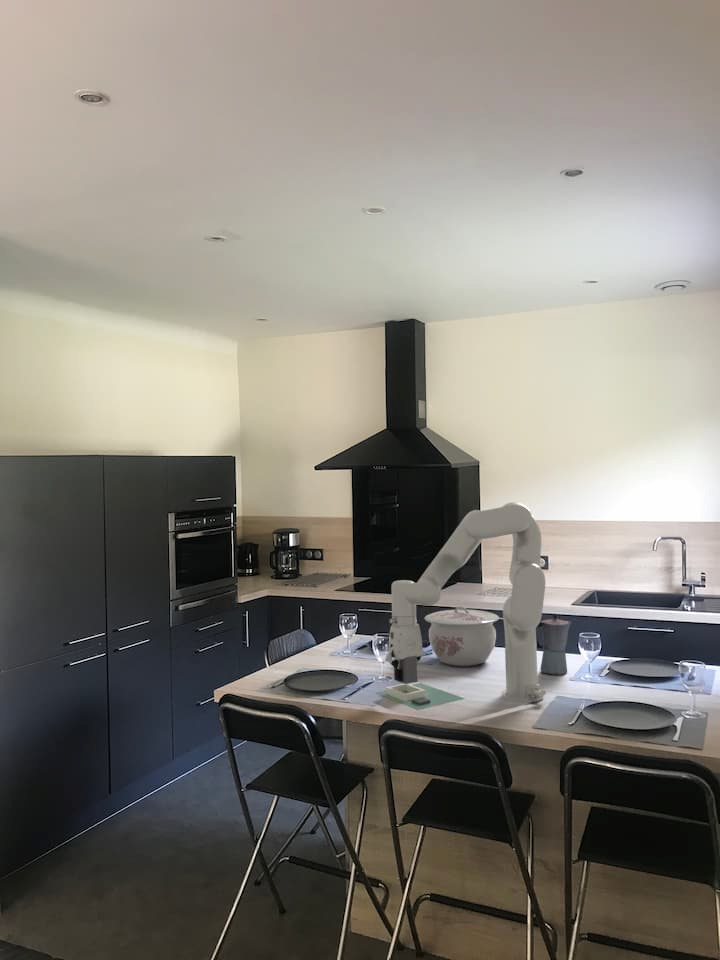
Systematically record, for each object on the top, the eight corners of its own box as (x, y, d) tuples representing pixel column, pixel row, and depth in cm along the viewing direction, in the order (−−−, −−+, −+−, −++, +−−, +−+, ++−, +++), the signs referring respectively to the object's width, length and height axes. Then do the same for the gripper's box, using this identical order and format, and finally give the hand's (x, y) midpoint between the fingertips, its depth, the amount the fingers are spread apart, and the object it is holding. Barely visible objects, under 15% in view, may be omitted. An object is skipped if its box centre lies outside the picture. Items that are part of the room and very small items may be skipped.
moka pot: (580, 672, 259) (578, 614, 258) (542, 678, 253) (541, 619, 253) (563, 666, 267) (561, 610, 267) (526, 672, 262) (524, 614, 262)
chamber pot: (500, 672, 262) (498, 613, 262) (421, 670, 268) (419, 612, 267) (501, 653, 289) (499, 599, 289) (430, 652, 295) (428, 599, 295)
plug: (417, 681, 233) (416, 655, 233) (405, 684, 230) (405, 658, 230) (404, 677, 238) (403, 651, 238) (392, 679, 236) (392, 653, 236)
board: (465, 702, 229) (464, 691, 229) (417, 713, 219) (417, 703, 219) (420, 686, 248) (420, 676, 248) (375, 696, 238) (375, 686, 238)
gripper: (389, 626, 226) (390, 686, 226) (433, 619, 235) (434, 677, 235) (375, 622, 232) (376, 681, 233) (418, 615, 242) (420, 672, 242)
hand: (405, 678), depth 234 cm, fingers closed on plug, 4 cm apart
